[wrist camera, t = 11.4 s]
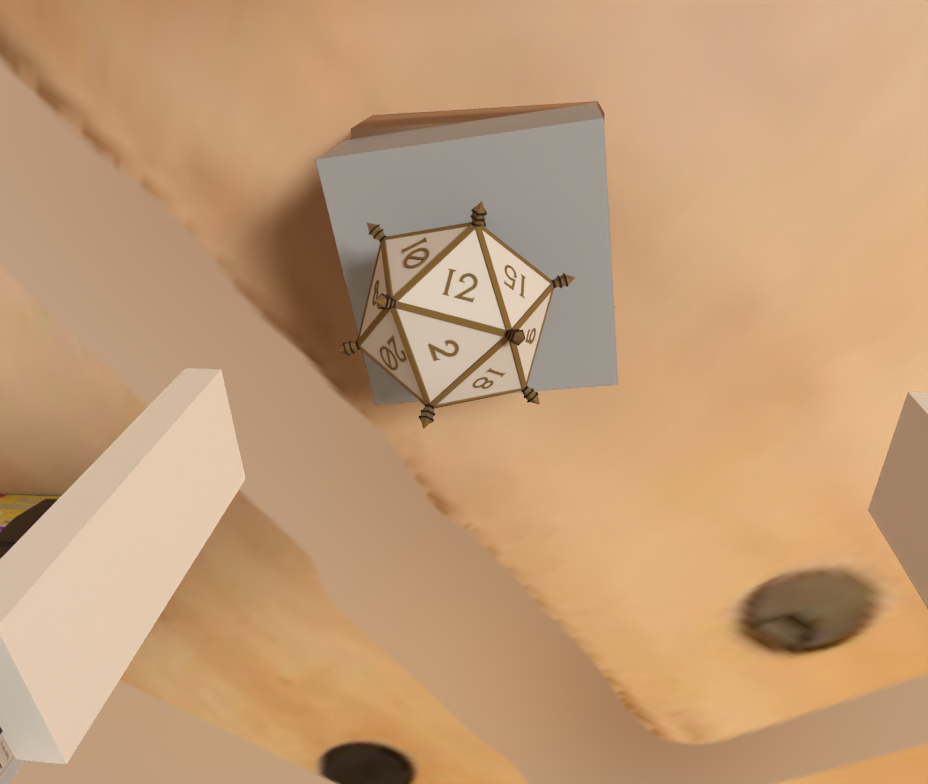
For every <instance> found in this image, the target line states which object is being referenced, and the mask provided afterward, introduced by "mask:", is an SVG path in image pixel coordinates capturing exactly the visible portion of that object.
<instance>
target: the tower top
mask: <svg viewBox="0 0 928 784" xmlns="http://www.w3.org/2000/svg"><path fill="white" fill-rule="evenodd" d="M316 164H317V168H318V172H319V176H320V180H321V184H322V188H323V192H324V196H325V201H326V205H327V209H328V213H329V217H330V221H331V225H332V229H333V233H334V238H335V242H336V246H337V250H338V254H339V258H340V262H341V266H342V270H343V275H344V279H345V283H346V287H347V291H348V295H349V299H350V303H351V307H352V312H353V316H354V320H355V324H356V328H357V332H358V334H359V330H360V326H361V322H362V318H363V313H364V309H365V305H366V301H367V296H368V292H369V288H370V284H371V280H372V275H373V271H374V267H375V263H376V258H377V254H378V250H379V246H380V241H379V240H377V239H374V238H373V236H372V235H369V234H368V233H369V230H368V226H367V223H371V224H375V225H378V224H379V225H380V226H379V227H380V228H381V229H383V232H384V234H385V236H393V235H399V234H405V233H410V232H416V231H422V230H428V229H434V228H440V227H445V226H451V225H457V224H463V223H469V222H472V218H471V217H470V215H472V211H471V210H472V209H473V208H474V207H475V206H477V205H478V204H479V203H480V202H481V201H482V203H483V206H484V209H485V210H486V212H487V215H485V217H484V218H485V223H486V227H485V228H486V229H488V230H489V231H490V232H491V233H493V234H494V235H495V236H497V237H498V238H499V239H500V240H502V241H503V242H504V243H505V244H507V245H508V246H509V247H510V248H512V249H513V250H514V251H516V252H517V253H518V254H519V255H521V256H522V257H523V258H524V259H526V260H527V261H528V262H529V263H531V264H532V265H533V266H535V267H536V268H537V269H538V270H540V271H541V272H542V273H543V274H545V275H546V276H547V277H548V278H550V279H551V280H554V279H555V278H556V277H557V275H559V276H561V275H563V273H564V274H565V275H569V276H572V277H575V278H574V279H573V281H572V282H571V283H570V284H569V285H568V286H567V287H566V286H563V288H560V287H556V288H554V290H553V294H552V298H551V301H550V305H549V308H548V312H547V316H546V319H545V323H544V326H543V330H542V334H541V337H540V341H539V344H538V348H537V352H536V355H535V359H534V362H533V366H532V370H531V373H530V377H529V380H528V384H527V386H528V387H530V388H531V389H532V388H533V389H534V391H545V390H557V389H569V388H581V387H593V386H605V385H617V384H618V372H617V354H616V336H615V317H614V299H613V281H612V262H611V244H610V226H609V207H608V189H607V171H606V153H605V134H604V118H603V116H602V114H601V112H600V110H599V108H598V106H597V104H596V103H591V104H584V105H577V106H571V107H564V108H557V109H551V110H544V111H537V112H530V113H524V114H517V115H510V116H504V117H497V118H490V119H483V120H477V121H470V122H463V123H457V124H450V125H443V126H436V127H430V128H423V129H416V130H409V131H403V132H396V133H389V134H383V135H376V136H369V137H362V138H356V139H349V140H345V141H343V142H342V143H340V144H339V145H337V146H336V147H334V148H333V149H331V150H330V151H328V152H327V153H325V154H324V155H322V156H321V157H319V158H318V159H316ZM362 353H363V357H364V361H365V365H366V369H367V373H368V377H369V381H370V386H371V390H372V394H373V398H374V402H375V405H378V404H390V403H402V402H414V401H419V400H418V399H417V398H416V397H415V396H413V395H412V394H411V393H410V392H409V391H408V390H407V389H405V388H404V387H403V386H402V385H401V384H400V383H398V382H397V381H396V380H395V379H394V378H393V377H392V376H390V375H389V374H388V373H387V372H386V371H385V370H384V369H382V368H381V367H380V366H379V365H378V364H377V363H375V362H374V361H373V360H372V359H371V358H370V357H369V356H367V355H366V354H365V353H364V352H363V351H362ZM513 393H521V391H518V392H513ZM508 394H509V393H508Z"/></svg>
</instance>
